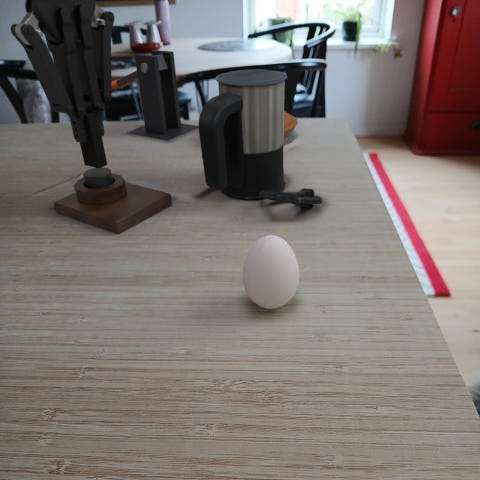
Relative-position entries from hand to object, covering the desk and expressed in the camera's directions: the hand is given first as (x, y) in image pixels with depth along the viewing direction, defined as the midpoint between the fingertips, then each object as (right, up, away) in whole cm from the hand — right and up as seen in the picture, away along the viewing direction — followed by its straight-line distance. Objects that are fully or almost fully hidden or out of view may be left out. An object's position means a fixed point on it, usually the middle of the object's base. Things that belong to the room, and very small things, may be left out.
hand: (96, 164), depth 67 cm
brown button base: (+2, -5, +3) cm, 6 cm away
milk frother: (+23, -3, +4) cm, 24 cm away
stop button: (0, -2, +2) cm, 3 cm away
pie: (+21, +10, +23) cm, 33 cm away
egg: (+22, -19, -17) cm, 33 cm away
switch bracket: (+5, +14, +28) cm, 32 cm away
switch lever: (+1, +23, +25) cm, 34 cm away
